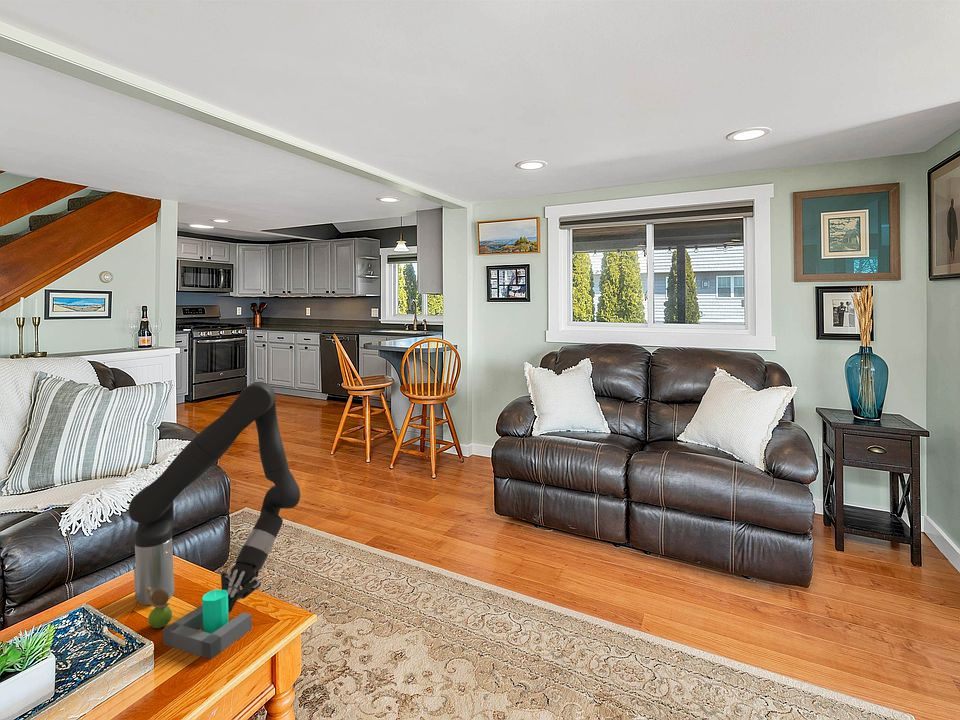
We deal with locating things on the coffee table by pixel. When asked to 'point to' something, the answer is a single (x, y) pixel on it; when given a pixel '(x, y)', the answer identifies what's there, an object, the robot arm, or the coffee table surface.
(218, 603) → the candle
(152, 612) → the snail figurine
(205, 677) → the coffee table surface
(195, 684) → the coffee table surface
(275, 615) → the coffee table surface
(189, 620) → the grey u-shaped frame
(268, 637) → the coffee table surface
